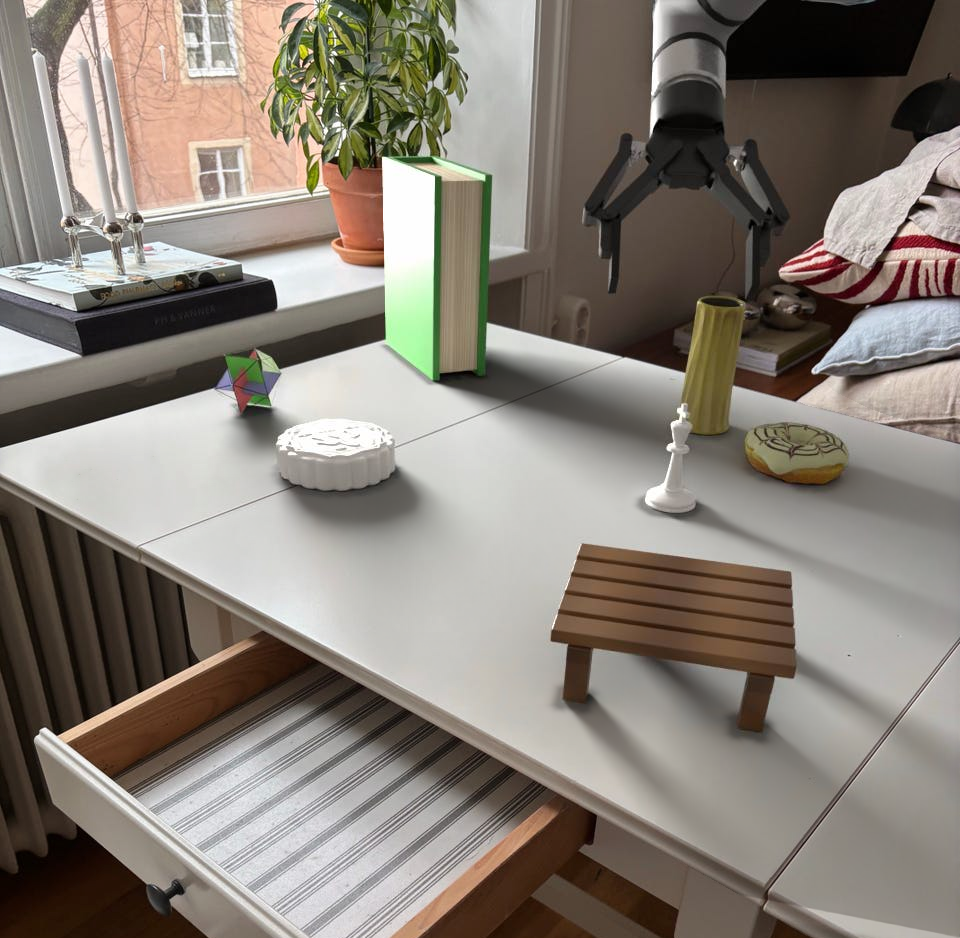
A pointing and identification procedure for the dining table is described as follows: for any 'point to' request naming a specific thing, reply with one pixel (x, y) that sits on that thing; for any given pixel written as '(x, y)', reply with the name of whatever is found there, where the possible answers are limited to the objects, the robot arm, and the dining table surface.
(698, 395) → the vase
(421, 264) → the hardback book
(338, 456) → the mooncake
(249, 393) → the geometric puzzle
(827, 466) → the decorated donut
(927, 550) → the dining table surface
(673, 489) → the chess piece
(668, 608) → the bench
